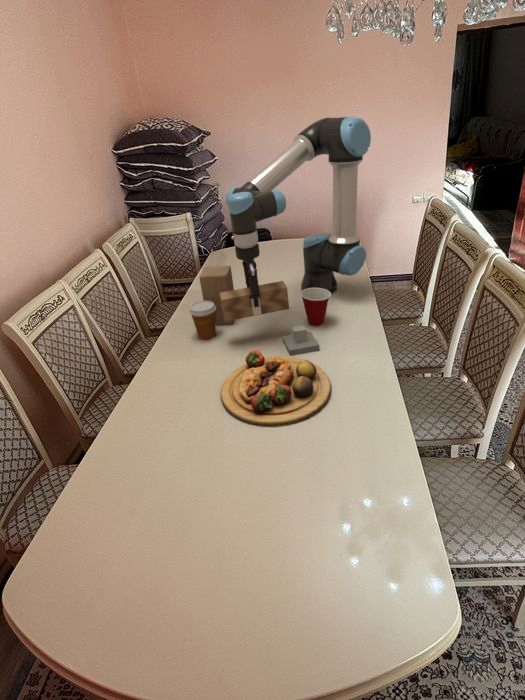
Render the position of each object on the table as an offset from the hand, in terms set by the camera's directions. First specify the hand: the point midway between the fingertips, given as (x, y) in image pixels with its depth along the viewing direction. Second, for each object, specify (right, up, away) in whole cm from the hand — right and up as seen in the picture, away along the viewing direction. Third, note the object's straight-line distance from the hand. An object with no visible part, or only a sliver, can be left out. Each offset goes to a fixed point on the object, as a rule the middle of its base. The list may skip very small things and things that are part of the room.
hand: (255, 310), depth 154 cm
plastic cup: (+22, -4, +12) cm, 25 cm away
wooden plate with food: (+6, -26, -22) cm, 35 cm away
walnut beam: (0, 0, 0) cm, 1 cm away
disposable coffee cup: (-18, -8, +11) cm, 23 cm away
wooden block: (-13, -2, +21) cm, 25 cm away
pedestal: (+15, -12, -2) cm, 19 cm away
